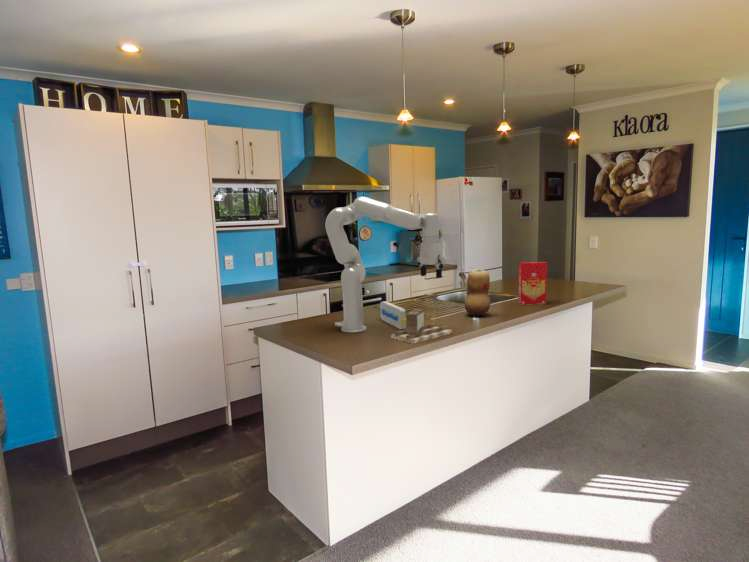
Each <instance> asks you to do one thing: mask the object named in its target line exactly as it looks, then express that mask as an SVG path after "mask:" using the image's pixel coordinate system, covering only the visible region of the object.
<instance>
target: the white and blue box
mask: <svg viewBox="0 0 749 562" xmlns="http://www.w3.org/2000/svg"><path fill="white" fill-rule="evenodd" d="M379 305H380V308H379V309H380V319H381V320H382V321H383V322H384V323H387V324H389V325H391V326H392V325H393V326H392V327H394V326H395V327H394V328H396V327H397V328H396V329H398V328H399V329H398V330H407V328H406V314H407V313H406V309H405V308H403V307H400V306H398V305H395V304H394V303H392V302H389V301H384V300H383V301H380V304H379Z"/></svg>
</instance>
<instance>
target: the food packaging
mask: <svg viewBox="0 0 749 562" xmlns="http://www.w3.org/2000/svg"><path fill="white" fill-rule="evenodd" d="M547 276H548V262H546V261H534V262H533V261H531V262H529V261H527V262H525V261H523V262H519V263H518V303H520V304H537V303H546V304H547V286H548V285H547V280H548V279H547Z"/></svg>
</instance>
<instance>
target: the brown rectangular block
mask: <svg viewBox="0 0 749 562" xmlns="http://www.w3.org/2000/svg"><path fill="white" fill-rule="evenodd" d="M425 325H426V324H425V308H419V307H418V308H417V307H416V308H414V309H412V310H411V311H409V312H408V313H406V330H407V334H411V335H417V334H418V333H419V332H420V331H421V330H422V329H423V328H425Z"/></svg>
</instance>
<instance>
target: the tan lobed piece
mask: <svg viewBox="0 0 749 562" xmlns="http://www.w3.org/2000/svg"><path fill="white" fill-rule="evenodd" d="M490 278H491V277H490V273H489V272H488V271H486V270H484V269H481V268H479V269H472V270H470V271H469V273H468V275H467V281H466V288H467V289H466V290H467V294H466V297H465V300H464V309H465V311H466V313H468V314H469V316H470V315H471V316H473V315H476V316H477V317H478V316H483V315H485V314H486V313H487V312H488V311H489V310H490V308H491V299H490V296H489V290H490Z"/></svg>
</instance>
